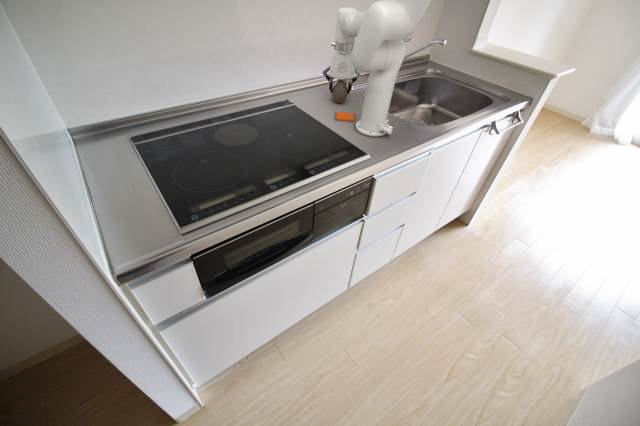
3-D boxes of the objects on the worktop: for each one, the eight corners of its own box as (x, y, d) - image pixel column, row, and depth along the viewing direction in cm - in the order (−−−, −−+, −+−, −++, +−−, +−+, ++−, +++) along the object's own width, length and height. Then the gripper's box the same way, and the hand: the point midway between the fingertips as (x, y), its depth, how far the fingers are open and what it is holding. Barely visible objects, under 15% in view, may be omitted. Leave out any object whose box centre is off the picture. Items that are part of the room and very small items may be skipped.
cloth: (353, 114, 120) (353, 113, 119) (354, 121, 115) (354, 119, 115) (336, 113, 120) (336, 111, 119) (336, 120, 115) (336, 118, 115)
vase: (347, 105, 125) (349, 84, 119) (331, 104, 125) (333, 83, 119) (346, 98, 130) (348, 78, 124) (331, 97, 130) (332, 77, 124)
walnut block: (345, 87, 140) (346, 79, 138) (345, 91, 137) (346, 82, 135) (336, 87, 140) (337, 78, 138) (336, 90, 137) (337, 82, 135)
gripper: (322, 47, 110) (319, 94, 122) (367, 50, 110) (360, 97, 122) (322, 42, 115) (320, 87, 128) (365, 45, 115) (359, 90, 128)
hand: (339, 91), depth 125 cm, fingers closed on vase, 6 cm apart
